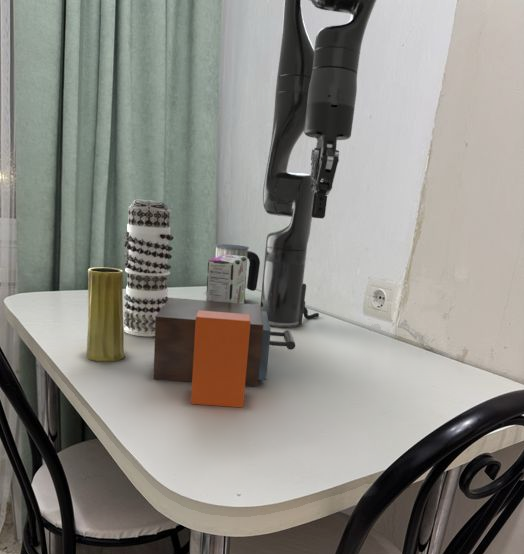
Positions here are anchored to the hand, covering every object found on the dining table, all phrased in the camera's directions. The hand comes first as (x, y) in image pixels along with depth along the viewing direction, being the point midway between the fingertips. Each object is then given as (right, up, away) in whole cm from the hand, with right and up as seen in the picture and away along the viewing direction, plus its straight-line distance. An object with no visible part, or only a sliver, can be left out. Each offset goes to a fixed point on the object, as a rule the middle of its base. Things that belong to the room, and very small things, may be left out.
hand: (317, 217), depth 84 cm
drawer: (-14, -24, -2) cm, 28 cm away
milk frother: (-20, -8, +57) cm, 61 cm away
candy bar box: (-17, -21, +13) cm, 30 cm away
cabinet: (-18, -25, -2) cm, 31 cm away
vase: (-35, -23, -1) cm, 42 cm away
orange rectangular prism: (-15, -29, -15) cm, 36 cm away
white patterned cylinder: (-32, -18, +16) cm, 41 cm away
